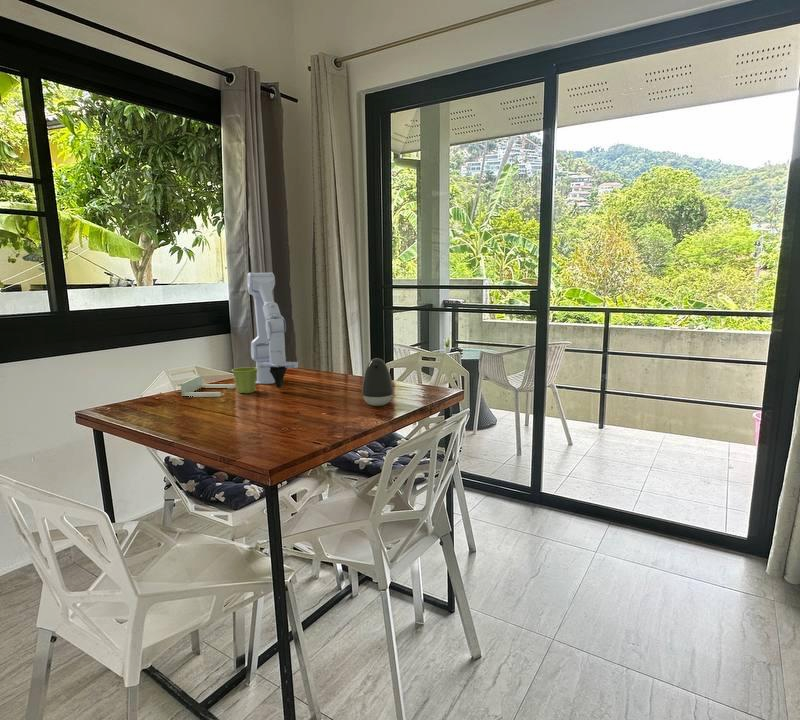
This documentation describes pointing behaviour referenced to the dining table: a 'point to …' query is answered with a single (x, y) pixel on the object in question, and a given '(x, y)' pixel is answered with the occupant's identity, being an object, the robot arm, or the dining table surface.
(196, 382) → the display bay
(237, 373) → the plant pot
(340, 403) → the dining table surface
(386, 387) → the dark grey egg shape
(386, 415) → the dining table surface
